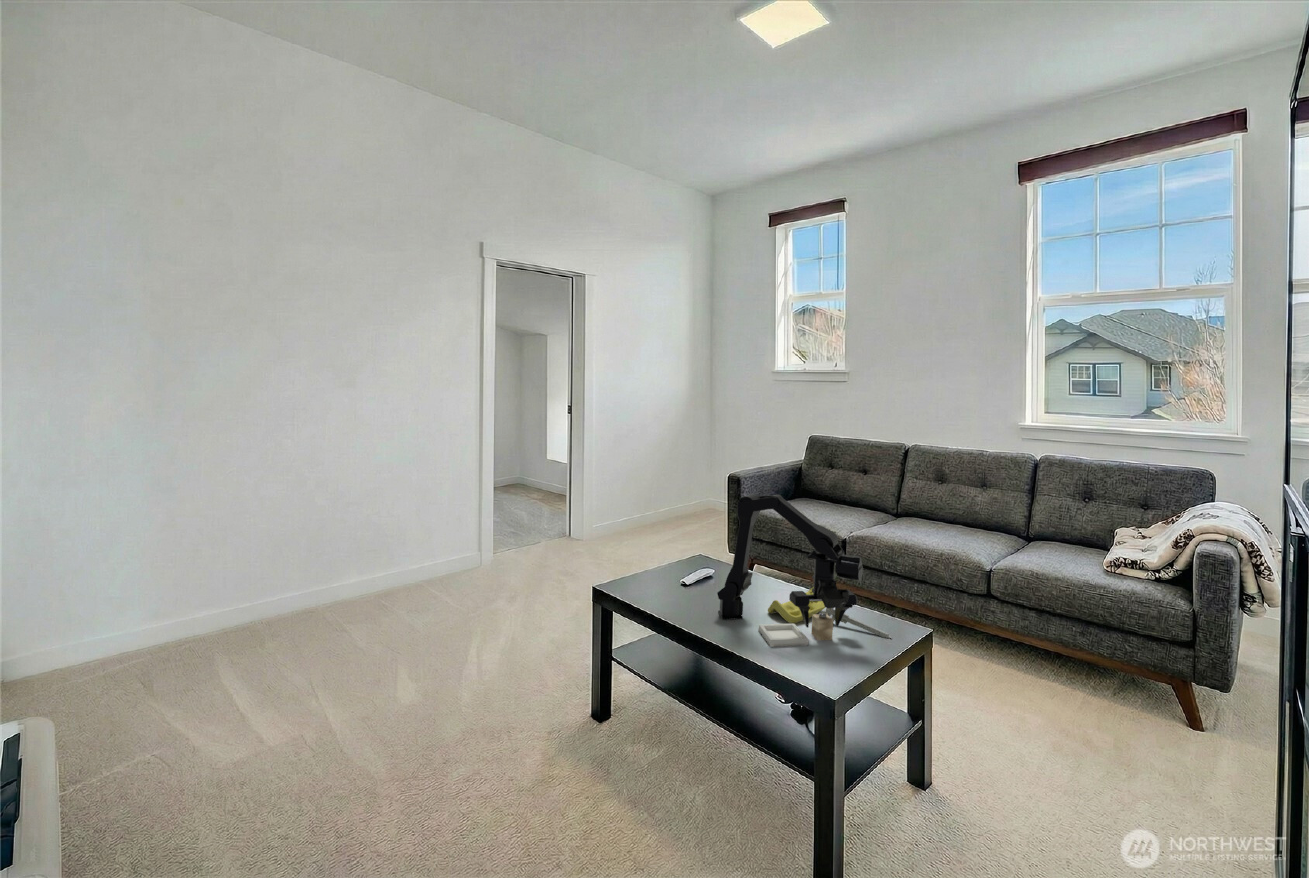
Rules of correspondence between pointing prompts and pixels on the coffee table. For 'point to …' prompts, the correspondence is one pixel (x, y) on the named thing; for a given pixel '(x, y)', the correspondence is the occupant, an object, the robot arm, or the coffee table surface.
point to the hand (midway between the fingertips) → (821, 626)
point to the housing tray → (783, 635)
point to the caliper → (857, 623)
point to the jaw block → (822, 626)
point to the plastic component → (795, 609)
